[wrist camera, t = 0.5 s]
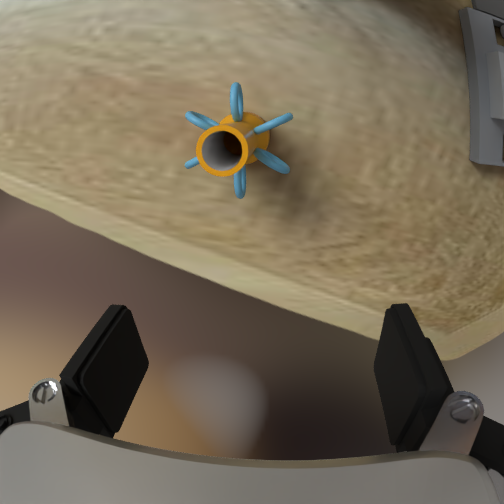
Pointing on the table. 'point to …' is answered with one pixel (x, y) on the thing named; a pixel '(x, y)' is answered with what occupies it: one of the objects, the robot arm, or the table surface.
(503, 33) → the light orange ball
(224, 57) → the table surface
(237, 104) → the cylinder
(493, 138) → the housing
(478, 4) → the mat
